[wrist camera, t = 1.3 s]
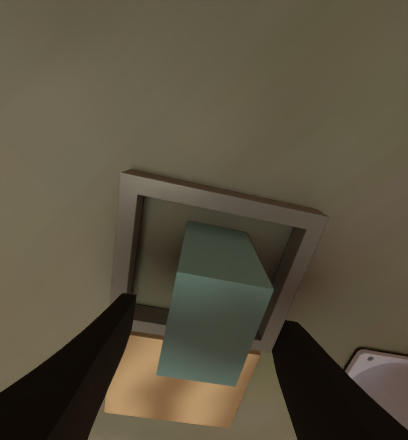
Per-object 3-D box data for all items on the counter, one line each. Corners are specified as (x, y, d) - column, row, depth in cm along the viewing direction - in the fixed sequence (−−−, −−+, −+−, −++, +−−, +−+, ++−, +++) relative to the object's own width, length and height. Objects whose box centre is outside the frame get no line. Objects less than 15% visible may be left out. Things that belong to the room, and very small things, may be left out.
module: (245, 231, 14) (274, 289, 9) (224, 302, 16) (235, 386, 11) (187, 220, 14) (177, 271, 8) (172, 293, 16) (155, 375, 10)
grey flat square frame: (316, 209, 14) (329, 217, 12) (264, 335, 17) (269, 352, 16) (130, 169, 13) (120, 172, 11) (116, 311, 16) (108, 326, 15)
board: (258, 348, 18) (260, 355, 17) (228, 420, 21) (229, 428, 20) (114, 325, 17) (111, 332, 16) (107, 404, 20) (104, 412, 20)
